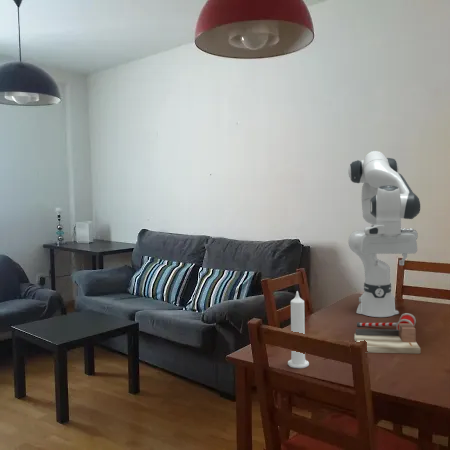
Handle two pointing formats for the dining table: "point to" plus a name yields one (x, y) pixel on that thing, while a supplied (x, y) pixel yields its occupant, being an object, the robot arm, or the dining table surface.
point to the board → (385, 341)
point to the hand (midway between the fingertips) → (388, 265)
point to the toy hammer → (403, 319)
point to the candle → (297, 330)
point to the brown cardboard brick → (407, 332)
